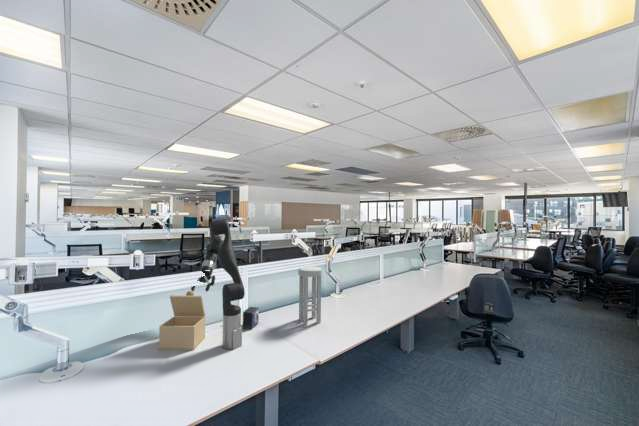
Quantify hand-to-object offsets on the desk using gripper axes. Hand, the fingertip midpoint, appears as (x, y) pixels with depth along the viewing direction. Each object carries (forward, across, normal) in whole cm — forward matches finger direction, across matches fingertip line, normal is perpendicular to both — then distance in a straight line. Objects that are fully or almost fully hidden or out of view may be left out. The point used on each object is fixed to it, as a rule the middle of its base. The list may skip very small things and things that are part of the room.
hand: (199, 290), depth 170 cm
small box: (+13, +31, +21) cm, 39 cm away
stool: (+6, +68, +28) cm, 73 cm away
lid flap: (+14, 0, -7) cm, 16 cm away
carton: (+30, 0, +3) cm, 30 cm away
